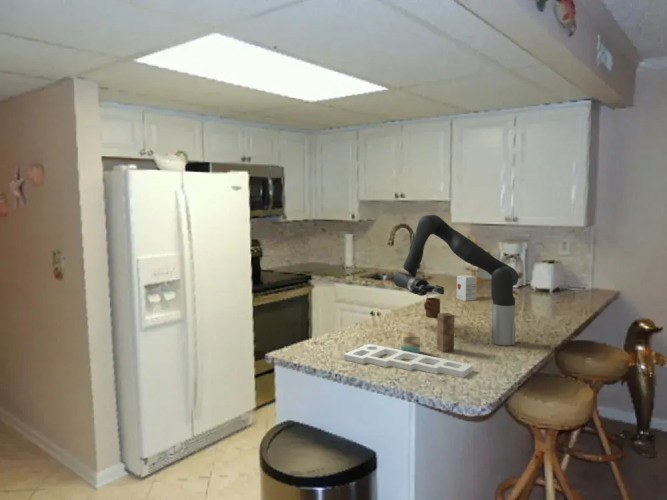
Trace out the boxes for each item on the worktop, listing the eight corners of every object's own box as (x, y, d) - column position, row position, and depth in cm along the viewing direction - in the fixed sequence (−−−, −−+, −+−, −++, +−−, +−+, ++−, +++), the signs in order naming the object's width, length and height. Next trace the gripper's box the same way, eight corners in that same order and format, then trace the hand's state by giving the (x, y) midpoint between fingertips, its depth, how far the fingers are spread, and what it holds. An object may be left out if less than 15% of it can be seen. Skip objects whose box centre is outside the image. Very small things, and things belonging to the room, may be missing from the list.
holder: (472, 372, 178) (473, 365, 178) (452, 386, 164) (452, 379, 163) (369, 350, 205) (369, 343, 205) (343, 360, 191) (343, 354, 190)
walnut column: (447, 347, 206) (448, 312, 205) (453, 351, 201) (454, 315, 200) (437, 348, 205) (437, 313, 203) (442, 352, 200) (443, 316, 199)
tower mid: (418, 342, 201) (418, 332, 201) (419, 346, 195) (419, 336, 195) (402, 341, 202) (402, 332, 201) (403, 346, 195) (403, 336, 195)
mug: (431, 319, 256) (431, 302, 255) (418, 317, 261) (418, 300, 260) (442, 316, 265) (442, 298, 264) (430, 314, 270) (430, 297, 269)
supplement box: (455, 298, 313) (456, 275, 311) (467, 297, 316) (467, 274, 315) (465, 301, 305) (465, 277, 303) (476, 300, 308) (477, 276, 307)
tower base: (419, 352, 201) (419, 342, 201) (418, 357, 194) (419, 347, 194) (402, 350, 203) (402, 341, 202) (401, 356, 196) (401, 346, 196)
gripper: (404, 278, 225) (419, 284, 209) (432, 277, 229) (449, 283, 213) (403, 294, 226) (418, 301, 210) (432, 293, 229) (448, 300, 214)
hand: (434, 292), depth 212 cm, fingers open, 8 cm apart
